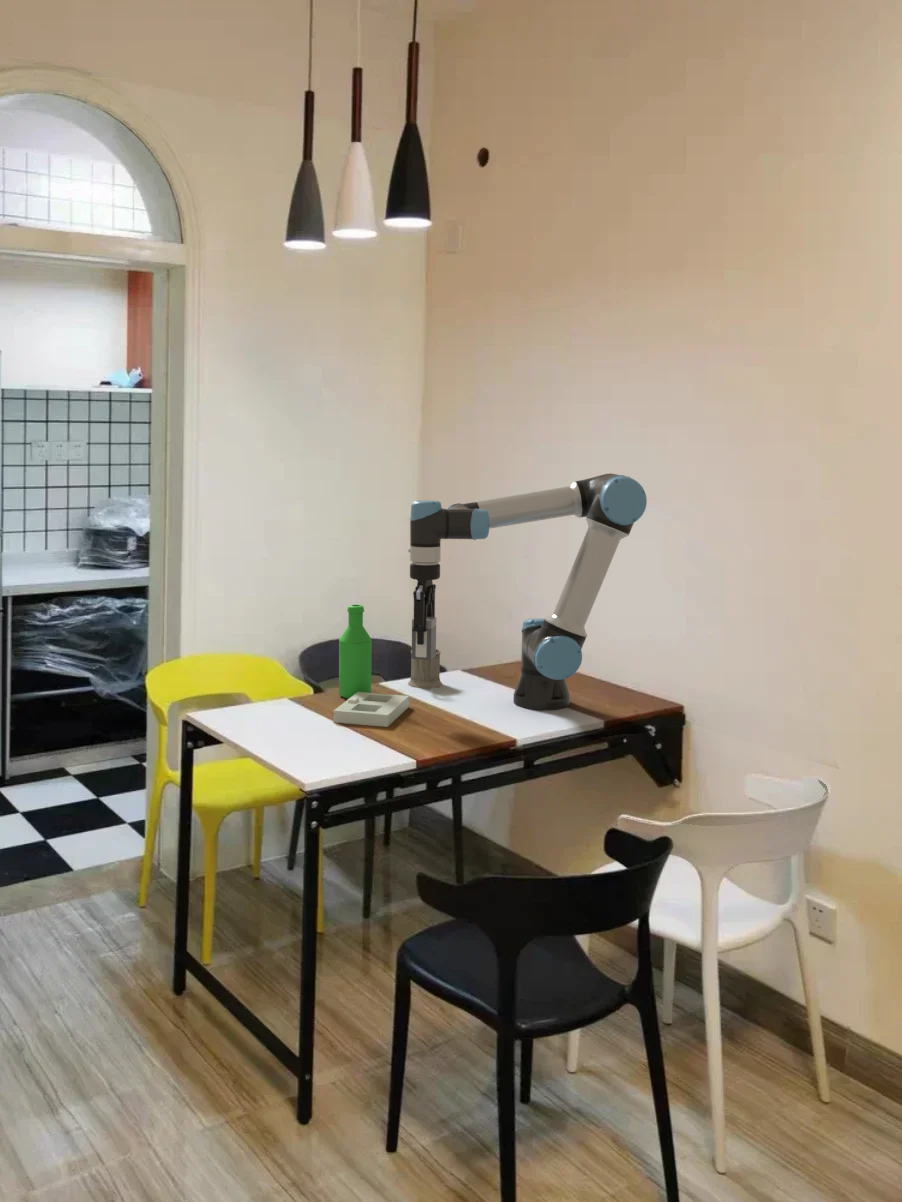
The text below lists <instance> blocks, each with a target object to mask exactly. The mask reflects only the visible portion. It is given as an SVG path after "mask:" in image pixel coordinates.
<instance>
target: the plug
mask: <svg viewBox="0 0 902 1202" xmlns="http://www.w3.org/2000/svg"><path fill="white" fill-rule="evenodd" d="M419 626H420V625H419ZM413 627H414V618H412V620H411V650H412V659H420V660H432V659H433V658H434V657H435V656H436V649H437V617H436V616H435V617H427V621H426V631H427V657H416V631H412V629H413Z"/></svg>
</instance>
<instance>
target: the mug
mask: <svg viewBox="0 0 902 1202" xmlns="http://www.w3.org/2000/svg"><path fill="white" fill-rule="evenodd" d="M441 653H442V651H441V650H440V649H437V648H436V656H435V657H434V658H433V659H432V660H420V659H412V649H411V650H410V654H411V655H410V656H411V659H410V660H411V661H410V662H411V663H410V665H411V666H410V667H411V668H410V672H411V673H410V680H409V681H408V682H407V685H408V686H410V687H411V688H416V689H417V688H419V689H435V688H440V687H441V686H443V682H442V681H441V677H440V675H441V674H440V673H441V672H440V670H441V663H440V662H441V659H440V657H441Z"/></svg>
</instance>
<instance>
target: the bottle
mask: <svg viewBox="0 0 902 1202" xmlns="http://www.w3.org/2000/svg"><path fill="white" fill-rule="evenodd" d="M364 612H365V607H364V605H362V604H351V605H347V613H348V617H347V618H348V620H347V621H348V624H347V627H346V629H345V630H344V631H343V633H342V634H341V636H340V638H339V639H338V641H339V642H338V646H339V647H338V657H339V658H338V665H339V666H338V693H339V695H340V696H341V697H343V698H344V699H347V700H348V699H349V698H350V697H352V696H353V695H355V694H356V693H357V692H365V693H372V646H373V645H372V644H373V643H372V642H373V641H372V637H371V636H370V634H369V633H368V631H367V630H366V628H365V627H364V623H363V622H364V621H363V620H364Z"/></svg>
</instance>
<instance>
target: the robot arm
mask: <svg viewBox="0 0 902 1202" xmlns="http://www.w3.org/2000/svg"><path fill="white" fill-rule="evenodd" d="M647 502H648V501H647V494H646V492H645V490H644V487H643V486H642V485H641V483H640V482H638V481H637V480H635V478H633V477H632V478H631V476H627V475H623V474H621V475H620V474H617V473H605V474H600V475H597V476H593V477H589V478H585V479H581V480H576V481H572V482H571V483H570V485H569V486H563V487H556V488H552V489H545V490H539V491H533V492H527V493H522V494H516V495H508V496H504V497H503V496H502V497H496V498H491V499H490V498H489V499H486V500H485V499H483V500H478V501H475V502H473V501H472V502H467V503H453V504H450V505H449V506H448V507H447V508H442V503H441V502H440V501H439V500H428V499H418V500H414V501H412V503H411V505H410V518H409V521H410V522H409V525H410V528H409V529H410V532H409V533H410V535H409V540H410V543H409V544H410V548H408V550H407V552H408V553H409V561H411V563H410V564H409V578H410V579H412V580H417V583H416V586H415V589H414V590H413V594H412V595H413V619H414V627H413V629H412V628H411V632H412V631H416V657H427V631H426V621H427V617H436V601H435V600H436V589H437V586H436V585H437V584H436V583H435V584H434V583H433V581H435V580H436V581H437V580H439V579H440V578H441V565H440V562H441V541H442V540H473V541H476V540H485V539H486V538H488V536H489V534H490V529H495V528H501V527H502V528H503V527H507V526H513V525H520V524H526V523H532V522H537V521H538V522H539V521H543V520H550V519H556V518H562V517H570V516H575V517H576V518H578V519H579V518H580V519H581V518H584V517H585V520H586V522H587V526H588V527H587V529H586V533H585V535H584V538H583V540H582V542H581V545H580V546H579V547H580V548H579V549H578V552H577V554H576V557H575V559H574V562H573V565H572V567H571V570H570V571H569V574H568V577H567V578H566V581H565V584H564V586H563V588H562V591H561V593H560V595H559V598H558V601H557V604H556V605H555V608H554V610H553V613H552V614H551V615H548V616H546V617H544V618H526V619H524V621H522V627H521V659H520V660H521V661H520V665H521V666H520V675H519V679H518V681H517V684H516V686H515V688H514V692H513V703H514V704H515V705H516V706H518V707H519V706H520V707H522V708H526V709H533V710H559V709H564V708H566V707H567V708H568V707H569V705H570V703H571V695H570V691H569V689H568V685H567V681H566V679H568V678H570V677H572V676H574V674H576V673H577V672H578V670H579V669H580V667H581V664H582V662H583V661H582V660H583V652H582V648H583V646H584V643H585V642H586V639H587V636H588V634H587V631H586V629H585V626H586V624H587V621H588V619H589V616H590V613H591V612H592V609H593V607H594V604H595V601H596V599H597V597H598V595H599V592H600V590H601V588H602V585H603V582H604V580H605V578H606V575H607V573H608V571H609V568H610V565H611V563H612V561H613V558H614V556H615V554H616V552H617V549H618V546H619V544H620V542H621V540H623V539H625V538H626V537H629V535H630V532H631V531H632V528H633V526H634V524H635V523H636V522H637V521H639V519H641V518H642V516H643V515H644V513H645V511H646V509H647ZM419 625H420V626H419Z"/></svg>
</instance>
